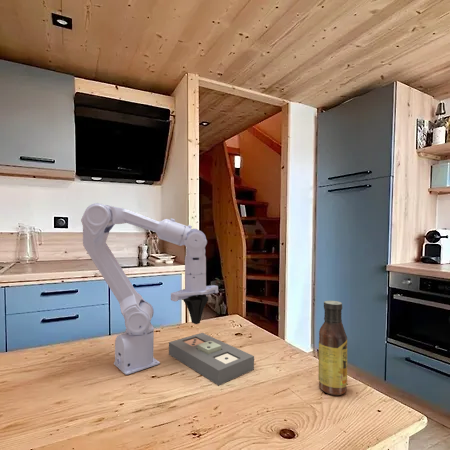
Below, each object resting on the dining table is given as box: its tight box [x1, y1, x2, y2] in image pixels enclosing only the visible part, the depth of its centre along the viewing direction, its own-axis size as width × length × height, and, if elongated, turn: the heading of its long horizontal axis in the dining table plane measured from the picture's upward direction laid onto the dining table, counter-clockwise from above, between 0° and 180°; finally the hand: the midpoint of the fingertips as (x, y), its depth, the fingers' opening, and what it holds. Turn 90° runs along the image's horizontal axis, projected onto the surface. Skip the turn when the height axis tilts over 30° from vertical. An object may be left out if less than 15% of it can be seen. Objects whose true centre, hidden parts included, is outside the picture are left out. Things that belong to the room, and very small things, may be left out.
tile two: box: [198, 341, 221, 354], centre depth 83 cm, size 5×5×2 cm
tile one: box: [215, 353, 238, 364], centre depth 78 cm, size 5×5×2 cm
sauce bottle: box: [317, 300, 348, 396], centre depth 70 cm, size 7×6×20 cm
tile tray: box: [168, 332, 255, 386], centre depth 83 cm, size 12×22×4 cm, turn 42°
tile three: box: [184, 338, 204, 346], centre depth 89 cm, size 5×5×2 cm
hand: (195, 322), depth 84 cm, fingers closed
